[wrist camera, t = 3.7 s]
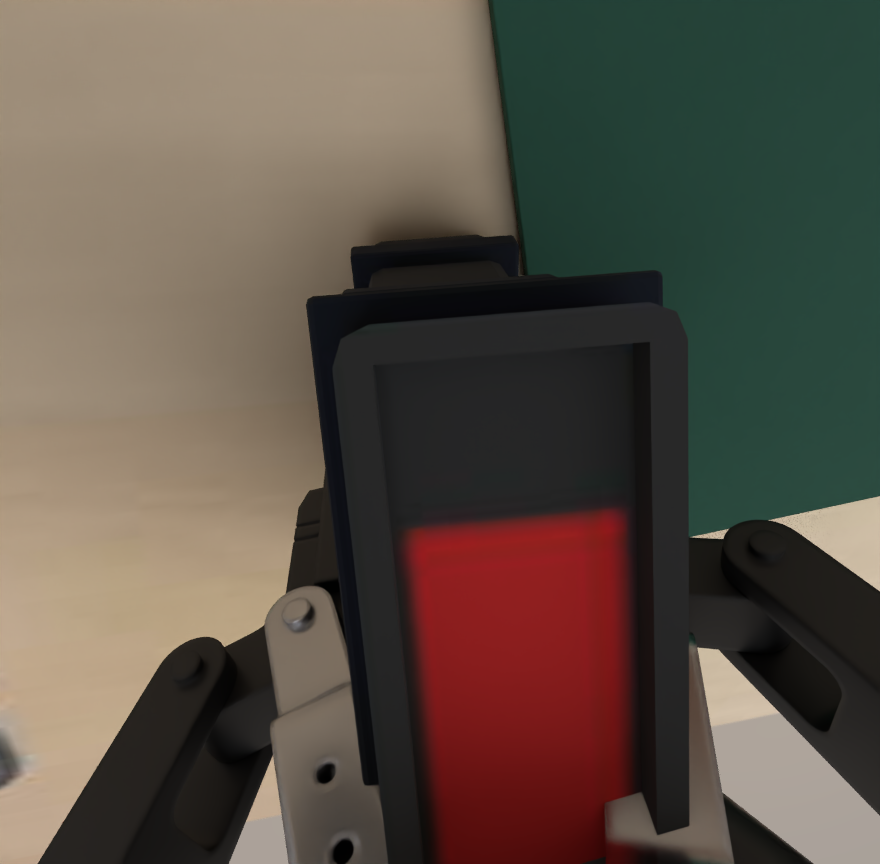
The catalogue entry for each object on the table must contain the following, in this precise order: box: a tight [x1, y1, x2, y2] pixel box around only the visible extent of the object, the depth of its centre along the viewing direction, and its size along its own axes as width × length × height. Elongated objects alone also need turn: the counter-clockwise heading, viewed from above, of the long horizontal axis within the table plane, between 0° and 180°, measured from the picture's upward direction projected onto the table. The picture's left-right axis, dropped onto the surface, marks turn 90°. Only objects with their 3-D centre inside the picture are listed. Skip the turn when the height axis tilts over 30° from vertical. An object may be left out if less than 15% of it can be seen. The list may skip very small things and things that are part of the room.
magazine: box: [306, 235, 689, 864], centre depth 13 cm, size 4×13×15 cm, turn 2°
